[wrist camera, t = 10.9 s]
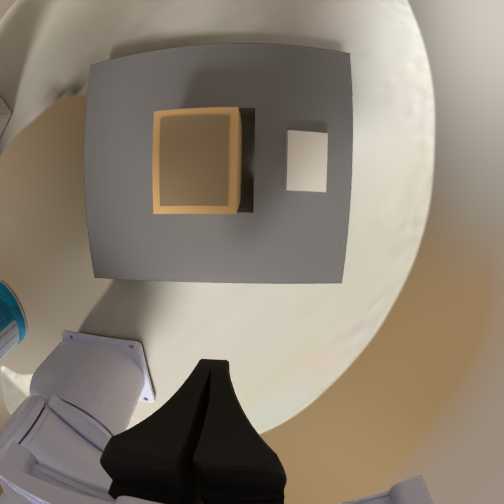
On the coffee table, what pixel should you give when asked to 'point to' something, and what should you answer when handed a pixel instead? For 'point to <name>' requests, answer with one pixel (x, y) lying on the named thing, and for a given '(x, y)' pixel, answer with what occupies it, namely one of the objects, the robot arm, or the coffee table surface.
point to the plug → (197, 161)
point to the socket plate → (265, 165)
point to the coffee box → (3, 115)
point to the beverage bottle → (10, 320)
